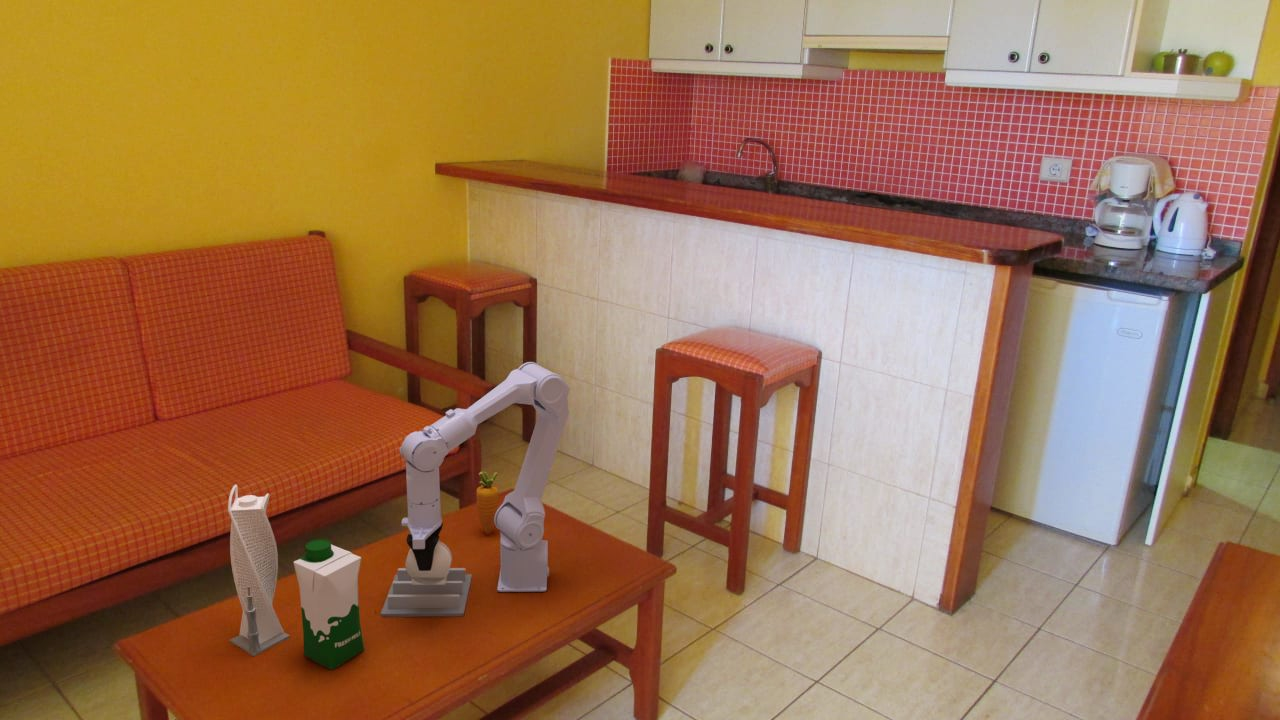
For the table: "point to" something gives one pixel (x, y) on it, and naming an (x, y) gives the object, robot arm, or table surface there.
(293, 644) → the table surface
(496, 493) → the carrot
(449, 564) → the cream round puck
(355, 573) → the milk carton
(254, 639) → the skyscraper
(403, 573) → the dish rack
